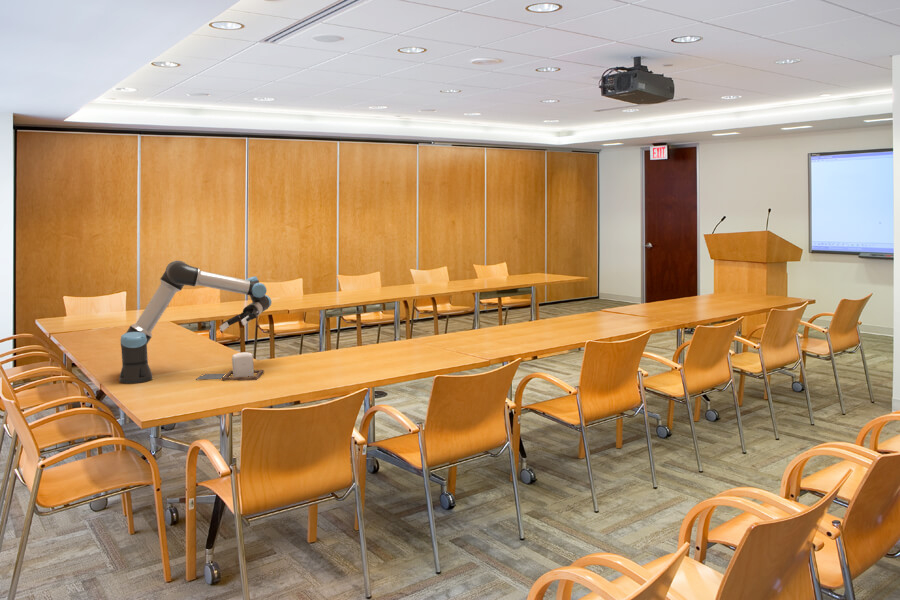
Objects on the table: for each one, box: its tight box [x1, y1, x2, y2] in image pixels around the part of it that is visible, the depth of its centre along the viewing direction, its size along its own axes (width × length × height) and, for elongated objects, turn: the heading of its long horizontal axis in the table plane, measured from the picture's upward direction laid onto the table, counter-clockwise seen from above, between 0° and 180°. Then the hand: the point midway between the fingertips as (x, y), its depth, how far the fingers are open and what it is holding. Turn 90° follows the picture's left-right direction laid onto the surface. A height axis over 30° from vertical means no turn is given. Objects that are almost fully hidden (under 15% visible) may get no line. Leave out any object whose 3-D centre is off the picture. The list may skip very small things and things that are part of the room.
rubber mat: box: [195, 373, 226, 381], centre depth 369 cm, size 12×12×1 cm
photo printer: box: [231, 351, 255, 377], centre depth 369 cm, size 10×4×12 cm, turn 115°
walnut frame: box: [221, 369, 265, 381], centre depth 370 cm, size 17×17×2 cm
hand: (231, 325), depth 371 cm, fingers open, 13 cm apart
